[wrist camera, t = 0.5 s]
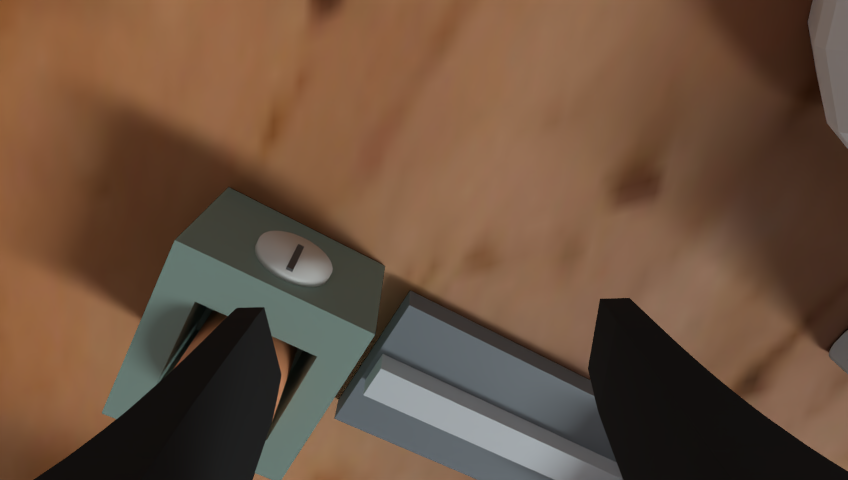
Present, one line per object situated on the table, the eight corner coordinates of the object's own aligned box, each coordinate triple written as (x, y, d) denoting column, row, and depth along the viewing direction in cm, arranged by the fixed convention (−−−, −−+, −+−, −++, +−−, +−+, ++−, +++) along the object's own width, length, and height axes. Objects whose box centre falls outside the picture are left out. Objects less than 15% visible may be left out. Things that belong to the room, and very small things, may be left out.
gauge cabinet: (305, 395, 25) (279, 482, 21) (162, 333, 24) (101, 413, 19) (389, 258, 22) (380, 325, 18) (232, 178, 21) (179, 229, 16)
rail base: (660, 541, 30) (678, 580, 28) (338, 400, 25) (330, 434, 23) (751, 461, 27) (778, 498, 25) (410, 290, 23) (408, 318, 21)
